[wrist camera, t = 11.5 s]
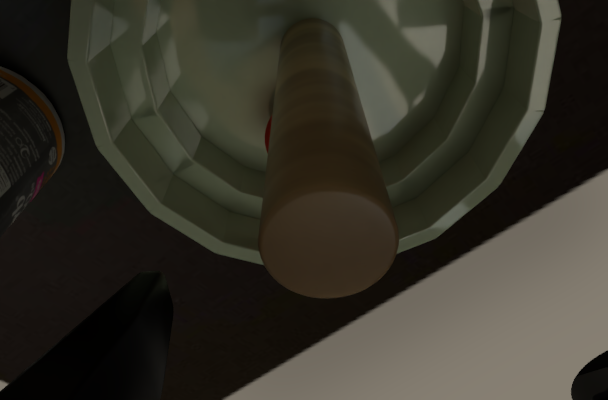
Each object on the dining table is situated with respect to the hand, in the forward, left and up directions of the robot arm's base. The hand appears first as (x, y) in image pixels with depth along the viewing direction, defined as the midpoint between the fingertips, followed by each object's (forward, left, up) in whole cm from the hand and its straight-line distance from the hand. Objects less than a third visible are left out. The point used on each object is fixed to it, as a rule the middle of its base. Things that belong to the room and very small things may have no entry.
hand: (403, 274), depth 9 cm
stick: (+2, +1, -12) cm, 12 cm away
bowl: (+2, +1, -12) cm, 13 cm away
